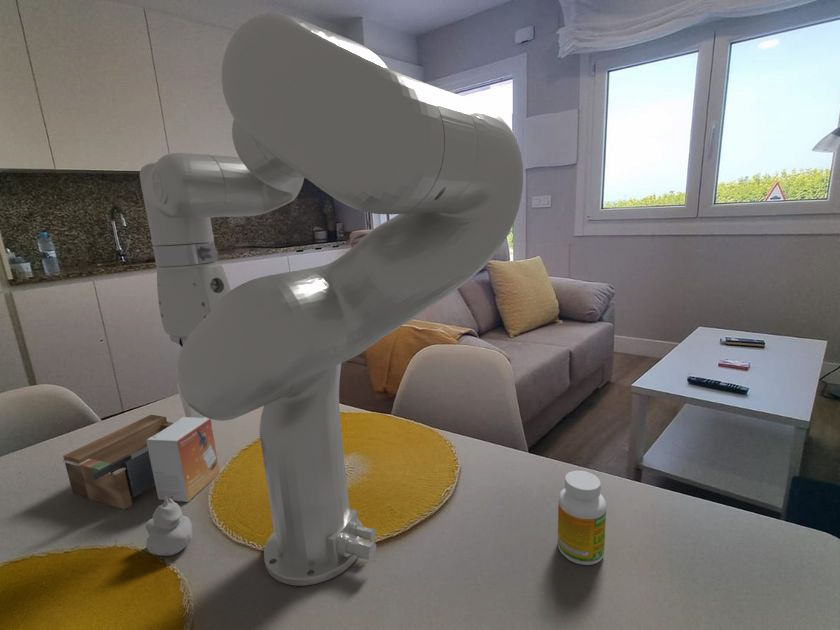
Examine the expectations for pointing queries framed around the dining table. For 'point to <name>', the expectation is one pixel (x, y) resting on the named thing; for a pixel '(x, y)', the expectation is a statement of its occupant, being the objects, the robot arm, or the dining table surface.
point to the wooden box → (110, 461)
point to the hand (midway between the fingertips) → (208, 381)
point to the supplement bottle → (581, 518)
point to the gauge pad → (132, 471)
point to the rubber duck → (168, 529)
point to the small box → (183, 458)
